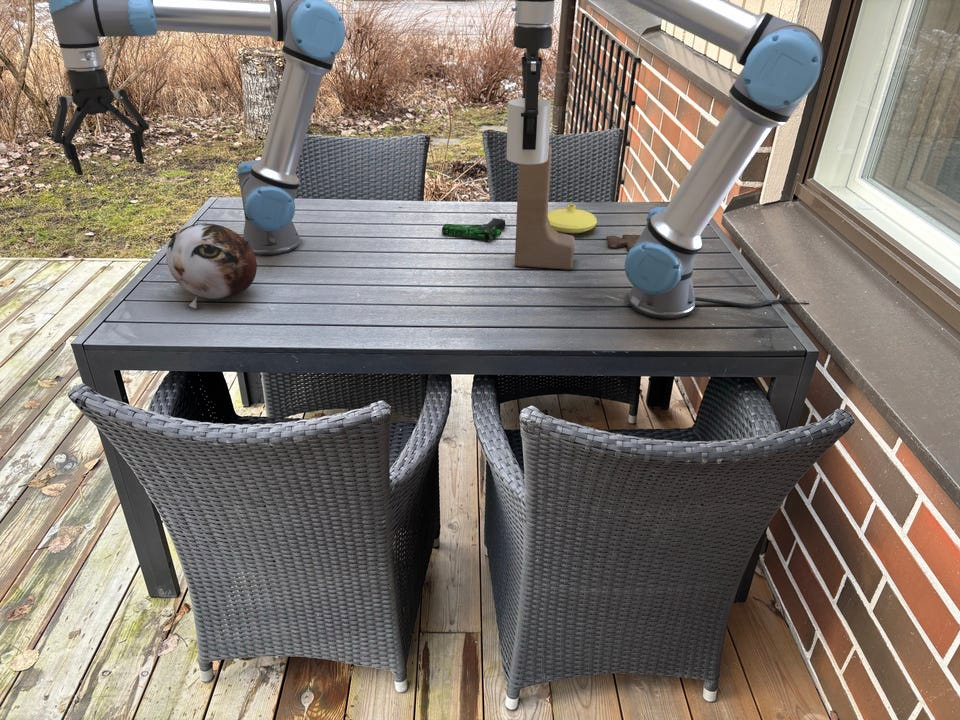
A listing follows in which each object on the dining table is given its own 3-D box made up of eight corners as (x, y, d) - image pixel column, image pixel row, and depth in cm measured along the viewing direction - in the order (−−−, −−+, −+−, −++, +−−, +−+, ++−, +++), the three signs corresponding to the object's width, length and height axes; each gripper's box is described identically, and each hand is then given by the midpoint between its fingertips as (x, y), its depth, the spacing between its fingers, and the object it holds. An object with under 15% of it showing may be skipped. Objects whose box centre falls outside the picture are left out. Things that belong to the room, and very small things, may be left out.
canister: (539, 166, 146) (542, 108, 141) (499, 161, 150) (501, 104, 144) (553, 156, 153) (557, 100, 147) (515, 151, 156) (517, 96, 151)
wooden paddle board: (703, 254, 196) (694, 240, 205) (704, 248, 195) (696, 235, 204) (609, 250, 196) (605, 237, 205) (610, 244, 196) (605, 232, 204)
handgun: (511, 219, 210) (493, 234, 198) (511, 228, 211) (492, 244, 199) (461, 212, 215) (440, 226, 203) (461, 221, 217) (440, 236, 204)
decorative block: (572, 270, 184) (582, 153, 169) (514, 266, 186) (519, 150, 171) (572, 259, 191) (582, 146, 175) (516, 255, 192) (521, 143, 177)
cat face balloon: (130, 285, 161) (164, 203, 163) (192, 308, 177) (221, 233, 178) (195, 307, 151) (229, 220, 152) (254, 330, 166) (285, 250, 168)
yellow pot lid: (559, 216, 220) (561, 193, 217) (605, 227, 212) (608, 204, 209) (532, 230, 209) (533, 207, 206) (580, 242, 201) (582, 218, 198)
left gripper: (26, 76, 141) (57, 182, 152) (151, 64, 157) (171, 161, 168) (14, 72, 146) (45, 175, 157) (137, 60, 161) (157, 155, 172)
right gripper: (512, 19, 148) (509, 131, 159) (515, 31, 129) (511, 156, 141) (549, 19, 147) (543, 131, 159) (556, 31, 129) (549, 157, 140)
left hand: (110, 168), depth 162 cm, fingers open, 13 cm apart
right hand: (528, 143), depth 150 cm, fingers closed on canister, 9 cm apart
